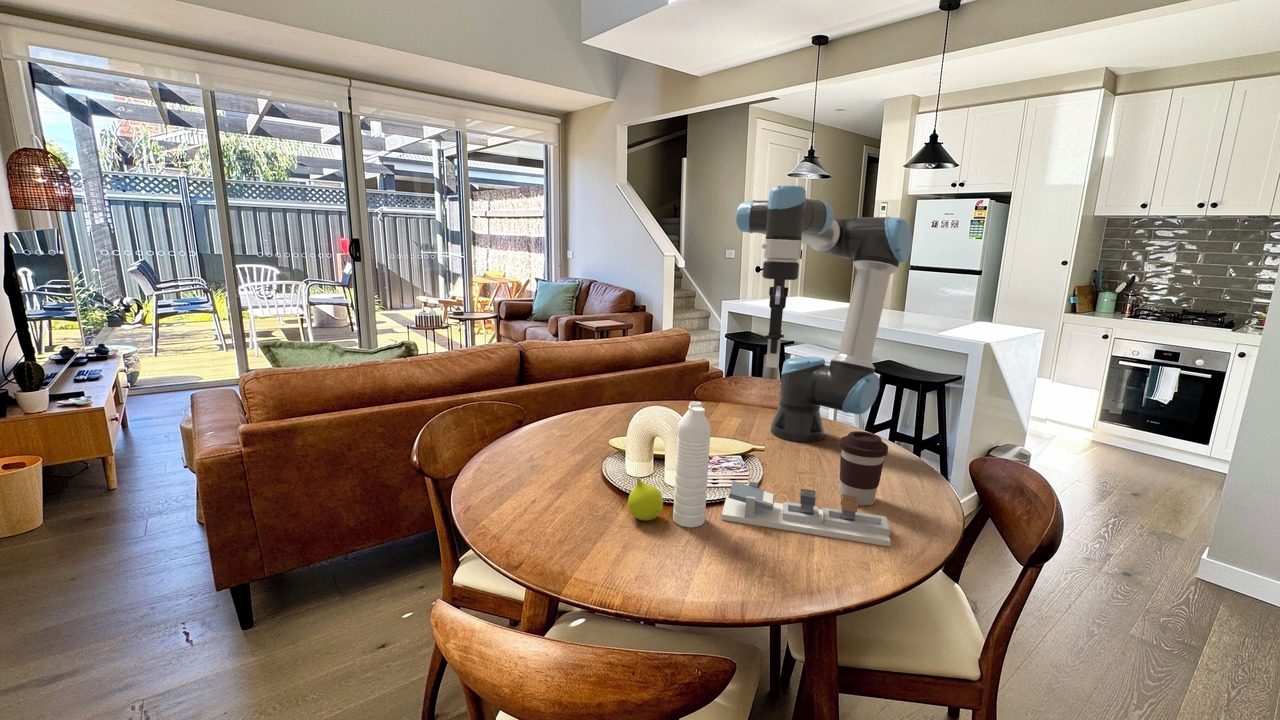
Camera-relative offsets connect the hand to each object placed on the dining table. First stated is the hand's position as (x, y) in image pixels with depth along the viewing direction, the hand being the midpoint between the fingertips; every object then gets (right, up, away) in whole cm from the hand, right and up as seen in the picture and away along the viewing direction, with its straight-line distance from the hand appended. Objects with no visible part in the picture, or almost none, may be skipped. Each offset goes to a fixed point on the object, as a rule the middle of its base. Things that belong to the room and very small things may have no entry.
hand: (772, 366), depth 126 cm
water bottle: (-20, -32, -13) cm, 40 cm away
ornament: (-29, -31, -12) cm, 44 cm away
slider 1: (+4, -30, -12) cm, 33 cm away
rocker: (-7, -27, -10) cm, 29 cm away
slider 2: (+12, -31, -14) cm, 36 cm away
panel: (+3, -32, -11) cm, 34 cm away
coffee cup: (+19, -30, 0) cm, 36 cm away
